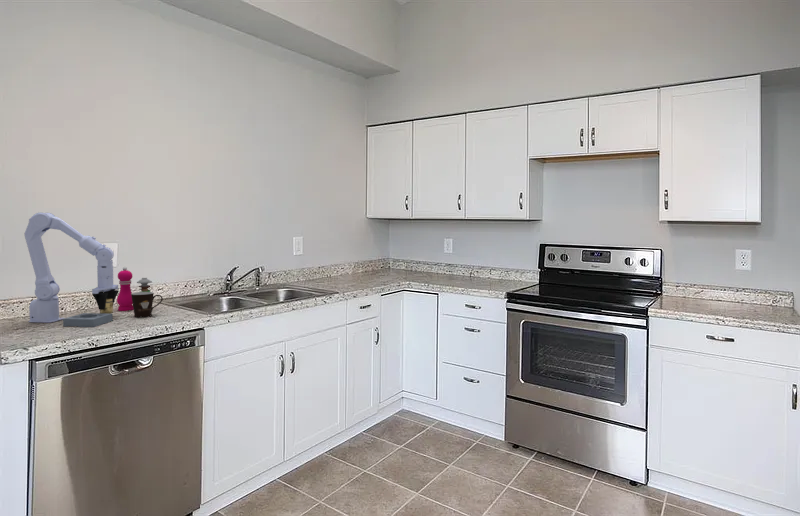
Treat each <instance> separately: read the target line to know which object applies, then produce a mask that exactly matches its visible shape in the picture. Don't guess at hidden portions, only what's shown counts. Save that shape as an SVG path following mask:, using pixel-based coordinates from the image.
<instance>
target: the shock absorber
mask: <svg viewBox="0 0 800 516" xmlns="http://www.w3.org/2000/svg"><path fill="white" fill-rule="evenodd" d="M151 283H153V281H152V280H150V279H148V277H142V278H141V279H139V280H138V281H136V284H140V285H139V286H138V288H139V290H140V292H152V291H151V289H150V288H151V285H148V284H151Z"/></svg>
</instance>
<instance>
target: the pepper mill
mask: <svg viewBox="0 0 800 516" xmlns="http://www.w3.org/2000/svg"><path fill="white" fill-rule="evenodd" d="M132 278H133V273H132V271H130V270H128V267H126V266H124V267H122V270H121V271H118V273H117V279H118V280H119V281H118V285H119V286H120V290H119V291H118V294H117V296H116V297H117V298H116V303H117V305H118V306H117V310H118V311H120V312H128V311H129V310H130V311H134V308H133V302H132V296H131V294H132V293H133V292H132V290H131V284H132Z"/></svg>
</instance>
